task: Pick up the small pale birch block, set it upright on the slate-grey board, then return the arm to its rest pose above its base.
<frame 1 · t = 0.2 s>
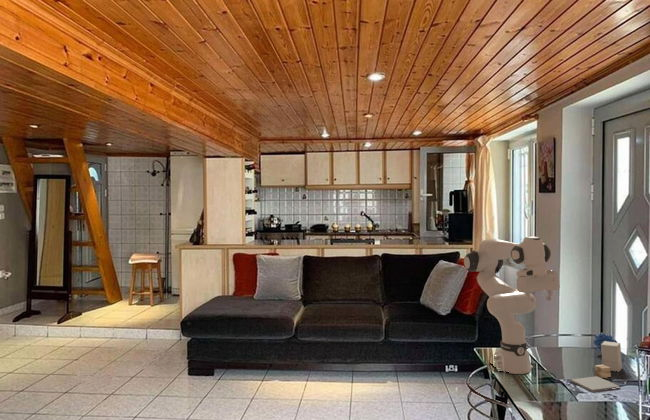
hand: (540, 301, 222), 39 cm above the table, tool pointing down, fingers open, 8 cm apart
birch block: (603, 376, 228), on the table
grapes: (606, 355, 259), on the table
supplement box: (612, 369, 238), on the table
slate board: (594, 384, 219), on the table
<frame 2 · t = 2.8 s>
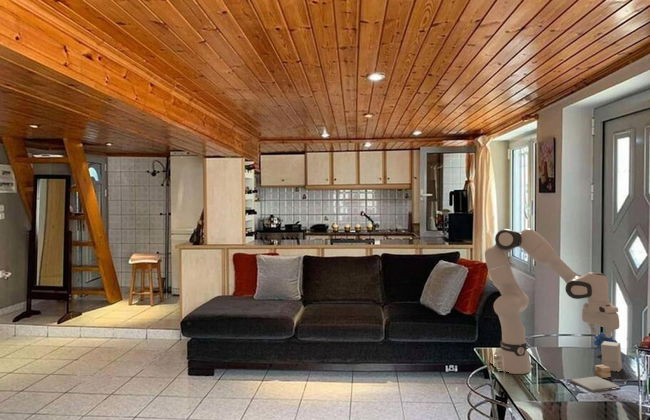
hand: (600, 335, 229), 20 cm above the table, tool pointing down, fingers open, 8 cm apart
nothing on the table moved.
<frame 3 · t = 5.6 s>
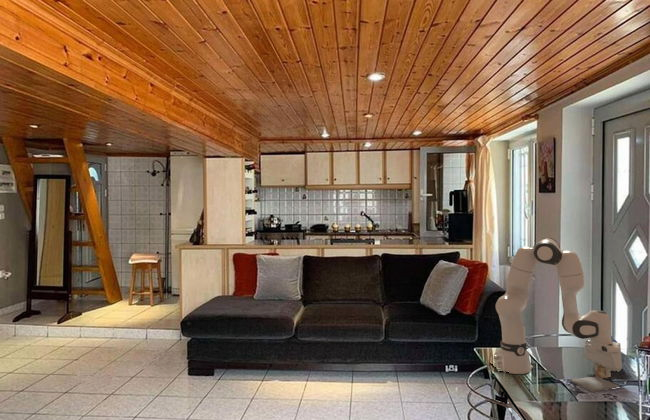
hand: (602, 373, 228), 2 cm above the table, tool pointing down, fingers closed on birch block, 4 cm apart
birch block: (603, 376, 228), on the table, touching gripper
everything else where it was.
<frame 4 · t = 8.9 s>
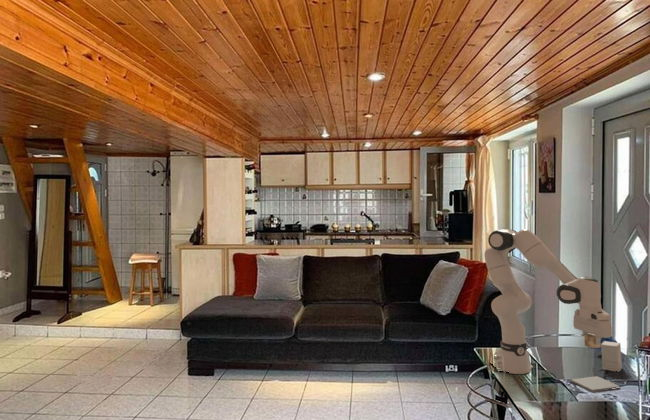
hand: (592, 342, 219), 19 cm above the table, tool pointing down, fingers closed on birch block, 4 cm apart
birch block: (592, 346, 219), point 17 cm above the table, touching gripper
everything else where it was.
when the fingers open (4 cm above the table, at t = 12.1 s): birch block drops 1 cm, resting on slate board.
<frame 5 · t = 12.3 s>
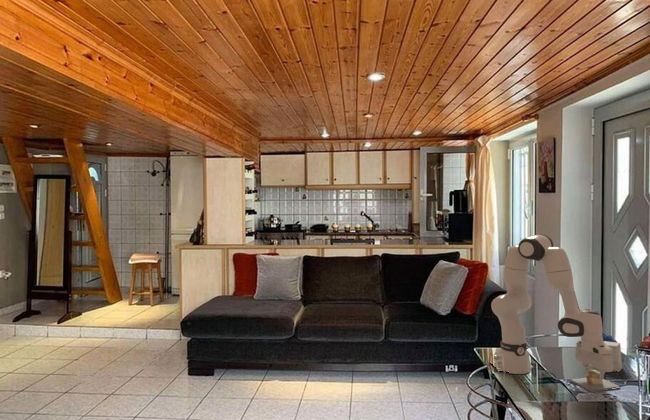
hand: (594, 375, 219), 4 cm above the table, tool pointing down, fingers open, 7 cm apart
birch block: (594, 382, 219), point 1 cm above the table, touching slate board
everything else where it was.
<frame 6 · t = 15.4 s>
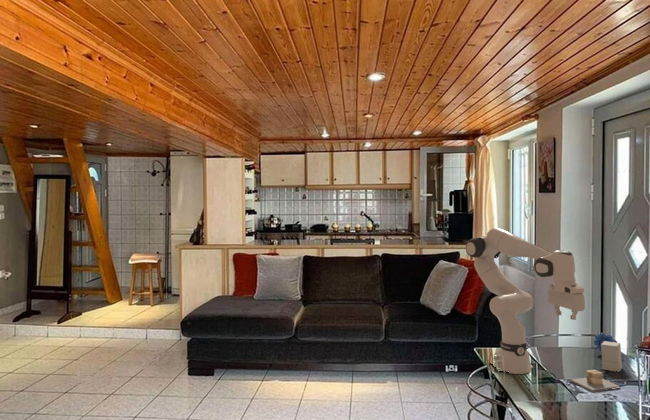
hand: (565, 317, 216), 32 cm above the table, tool pointing down, fingers open, 8 cm apart
nothing on the table moved.
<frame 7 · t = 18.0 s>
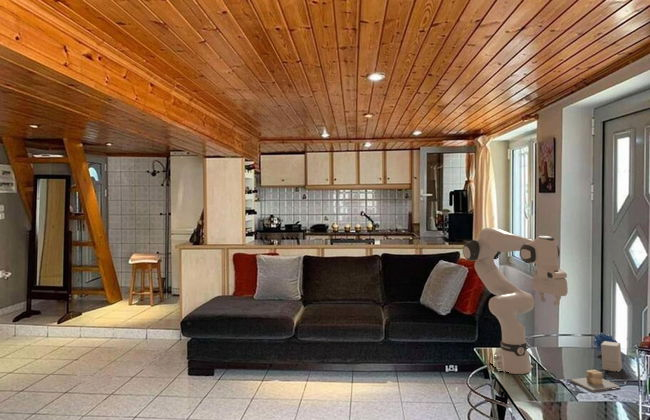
hand: (549, 303, 214), 39 cm above the table, tool pointing down, fingers open, 8 cm apart
nothing on the table moved.
at the end: birch block inside the target area on the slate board (0.0 cm from its centre), point 1.0 cm above the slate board's base; birch block tilted 0°; the gripper is holding nothing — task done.
